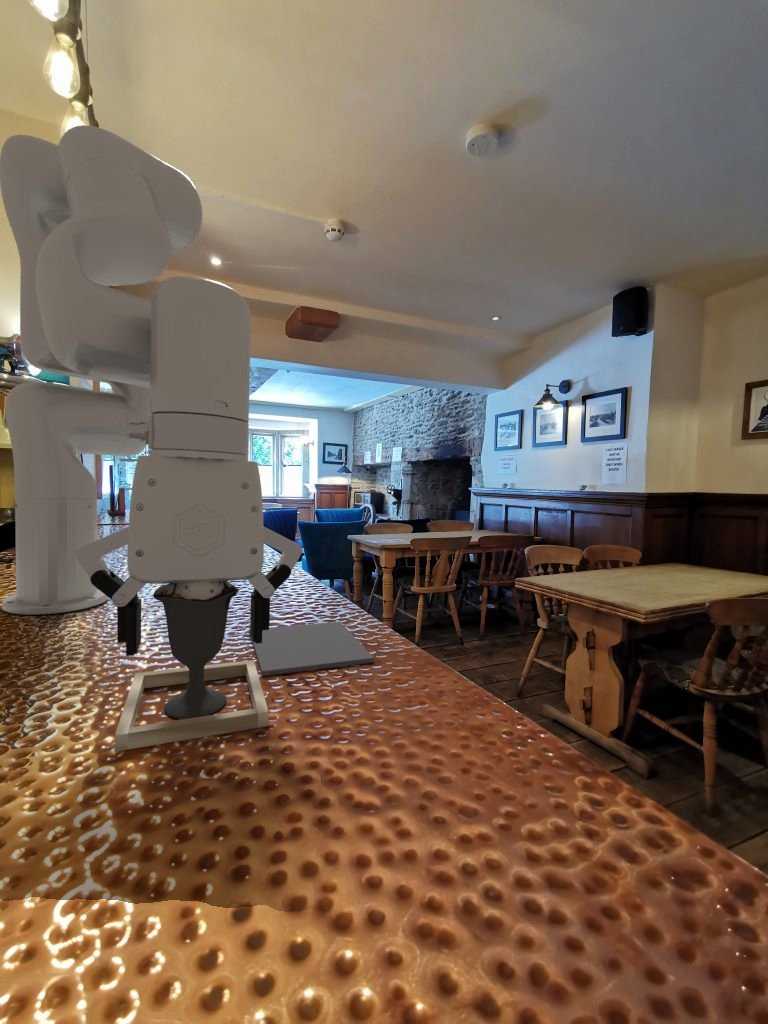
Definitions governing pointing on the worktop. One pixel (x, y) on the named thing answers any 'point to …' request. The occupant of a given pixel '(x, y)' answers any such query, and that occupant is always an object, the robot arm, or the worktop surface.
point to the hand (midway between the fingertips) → (197, 643)
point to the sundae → (196, 639)
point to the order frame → (190, 727)
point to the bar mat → (308, 648)
